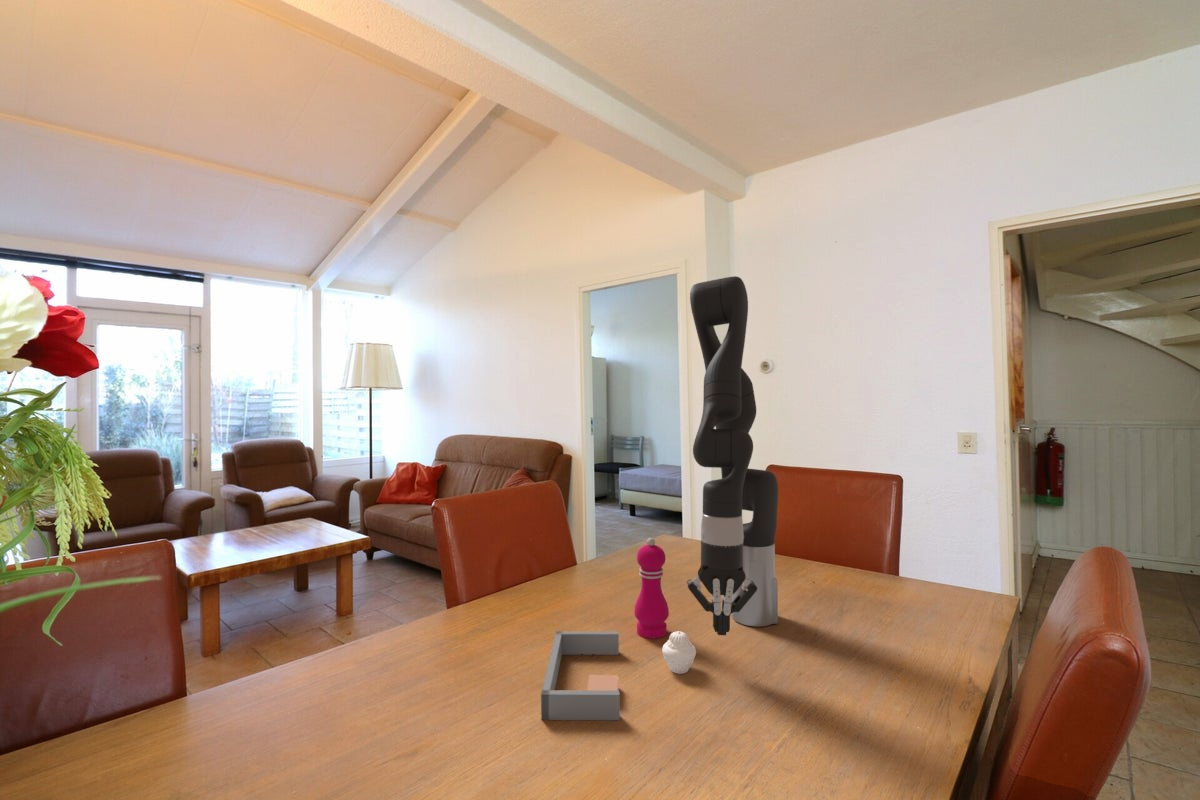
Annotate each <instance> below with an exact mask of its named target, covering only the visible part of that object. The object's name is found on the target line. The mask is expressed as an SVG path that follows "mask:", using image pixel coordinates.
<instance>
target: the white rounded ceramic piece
mask: <svg viewBox="0 0 1200 800" xmlns="http://www.w3.org/2000/svg"><path fill="white" fill-rule="evenodd" d="M668 637H669V638H668V639H667V641H666V642H665V643H664V644H663V646H662V649H661V652H662V655H663V658H664V660H665V663H666V664H667V666H668V668H669V670H670V671H671V672H673V673H674V674H678V675H679V674H680V675H681V674H686V673H687V672H689V669H690V668H691V666H692V664H693V662H694V661H695V657H696V654H697V649H696V647H695V646H694V644H692V642H691V640H690V638H689V635H688V634H687V633H685V632H683V631H679V630H678V631H674V632H671V633H670V635H669V636H668Z"/></svg>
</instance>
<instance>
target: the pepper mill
mask: <svg viewBox="0 0 1200 800" xmlns="http://www.w3.org/2000/svg"><path fill="white" fill-rule="evenodd" d="M636 561H637V563H638V565H639V566H640V567H639V573H638V574H639V576H640V577H641V589H640V593H639V595H638V597H637V599H636V601H635V605H634V612H633V613H634V616H635V618H636V619H637V620H638V621H637V622H636V634H638V635H639V637H642V638H645V639H659V638H663V637H665V636H666V635H667V628H668V627H667V622H666V621H667V619H668V618H669V615H670V612H669V605H668V602H667V600H666V598H665V596H664V594H663V590H662V581H661V580H662V577H663V576H664V568H663V566H664V564H665V562H666V553H665V551H664V550H663V548H662V547H661V546H659V545H657V544H656V540H655V538H653V537H648V539H647V540H646V545H643V546H642V547H640V548H639V550H637V553H636Z"/></svg>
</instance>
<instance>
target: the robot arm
mask: <svg viewBox="0 0 1200 800" xmlns="http://www.w3.org/2000/svg"><path fill="white" fill-rule="evenodd" d="M748 299H749V298H748V292H747V288H746V285H745V283H744V281H743V280H742V278H741V277H739V276H728V277H727V276H726V277H723V278H716V279H713V280H706V281H703V282H697V283H695V284H693V285H692V286H691V289H690V292H689V302H690V309H691V314H692V318H693V323H694V326H695V331H696V333H697V339H698V342H699V345H700V350H701V354H702V359H703V364H704V368H705V373H704V378H703V399H702V400H703V404H702V405H703V407H702V415H701V420H700V423H699V427H698V429H697V432H696V435H695V439H694V441H693V446H692V447H693V448H692V455H693V457H694V460H695V462H696V463H697V464H698V465H699V466H701V467H702V468H703V467H704V468H713V469H714V468H720V469H721V478H720V479H719V478H718V479H713V480H708V481H706V482H705V483H704V484H703V488H702V518H701V522H700V523H701V524H700V566H699V569H698V571H697V576H695V577H694V578H692V579H688V580H687V581H686V585H687V589H688V590H689V591H690V592H691V594H692V595H693V596H694V598H695V599H696V600H697V602H698V603H699V605H700V606H701V607H702V608H703V609H704V611H706V612H710V613H712V627H713V630H714V632H715V633H716V634H717V636H727V633H729V632H730V629H731V621H730V620H731V617H732V619H733V620H734V621H735V622H737V623H738V624H741V625H744V626H748V627H758V628H759V627H767V626H770V625H773V624H779V618H778V617H779V613H778V612H779V605H778V604H779V600H778V599H779V597H778V595H779V593H778V592H779V591H778V590H779V589H778V588H779V587H778V586H779V584H778V583H779V582H778V578H777V577H776V574H775V573H776V572H775V571H776V566H775V565H776V562H775V561H776V559H775V558H776V557H775V556H776V554H775V553H776V550H775V549H776V545H775V544H776V543H775V541H776V531H777V526H778V504H779V483H778V480H777V477H776V475H775V474H774V473H773V472H772V471H770V470H764V469H756V468H749V465H750V463H751V459H752V455H753V452H754V442H753V439H752V436H751V435H750V430H751V429H752V427H753V425H754V423H755V419H756V417H757V404H756V397H755V389H754V386H753V385H754V384H753V382H752V380H751V378H750V376H749V375H748V374H747V373H746V371H745V370H744V369H743V368H742V365H743V359H744V358H743V357H744V350H745V341H746V334H747V326H748V314H749V300H748ZM721 325H728V328H727V331H726V334H725V336H724V338H723V340H722V342H721V341H720V339H719V337H718V335H717V333H716V330H715V327H716V326H721ZM743 511H750V512H752V519H751V521H750V522H746V523H744V521H743ZM701 583H702V585H703V586H704V587H705V589H706V590H707V592H708V593H709V594H710V595H711V601H709V600H708V599H707V598H706V596H705V595H704V593H703V592H702V591H701V590H702V585H701ZM721 600H722V601H721Z"/></svg>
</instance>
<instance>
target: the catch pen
mask: <svg viewBox="0 0 1200 800" xmlns="http://www.w3.org/2000/svg"><path fill="white" fill-rule="evenodd" d="M619 633H620V632H619V631H596V630H595V631H589V630H588V631H584V630H583V631H577V630H576V631H574V630H573V631H572V630H571V631H567V630H566V631H563V630H562V631H559V630H558V631H555V636H554V639H553V644H552V648H551V652H550V657H549V660H548V665H547V668H546V672H545V677H544V680H543V685H542V688H541V694H540V701H541V702H540V703H541V704H540V706H541V707H540V711H541V712H540V715H541V716H540V717H541V719H540V720H542V721H543V720H544V721H545V720H546V721H553V720H554V721H621V720H620V719H621V718H620V717H621V714H620V713H621V712H620V709H621V707H620V704H621V703H620V702H621V701H620V694H621V693H620V690H618V691H600V690H587V689H586V690H585V689H584V690H581V689H579V690H576V689H575V690H574V689H573V690H571V689H570V690H569V689H565V690H563V689H562V690H561V689H558V690H556V687H557V681H558V678H559V677H558V676H559V671H560V666H561V662H562V657H563V655H565V656H566V655H567V656H575V655H579V656H580V655H581V654H583V655H585V656H586V655H589V656H590V655H591V656H592V654H594V655H597V656H603V655H606V656H607V655H609V656H611V655H612V656H613V655H615V656H618V655H620V651H619V650H620V649H619V648H620V646H619V644H620V640H619V638H620V637H619ZM583 655H582V656H583Z"/></svg>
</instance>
